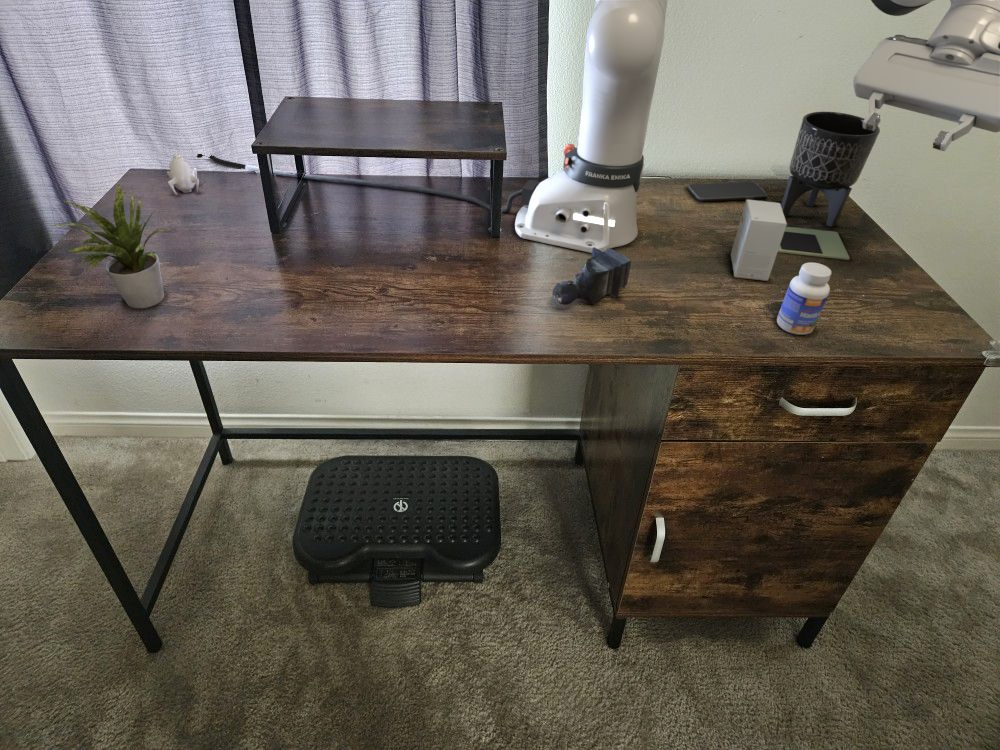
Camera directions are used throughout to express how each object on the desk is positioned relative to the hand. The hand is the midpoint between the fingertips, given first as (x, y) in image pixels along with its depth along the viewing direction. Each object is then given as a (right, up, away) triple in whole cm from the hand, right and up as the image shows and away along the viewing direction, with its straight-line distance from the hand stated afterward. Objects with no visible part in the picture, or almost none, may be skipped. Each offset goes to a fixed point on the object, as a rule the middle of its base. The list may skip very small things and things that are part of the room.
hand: (901, 137), depth 88 cm
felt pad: (+1, -8, +31) cm, 32 cm away
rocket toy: (-116, +4, +39) cm, 122 cm away
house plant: (-109, -20, +11) cm, 111 cm away
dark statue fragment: (-40, -20, +14) cm, 47 cm away
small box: (-12, -14, +23) cm, 29 cm away
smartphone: (-8, +5, +46) cm, 46 cm away
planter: (+6, -1, +39) cm, 40 cm away
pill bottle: (-10, -25, +10) cm, 29 cm away
